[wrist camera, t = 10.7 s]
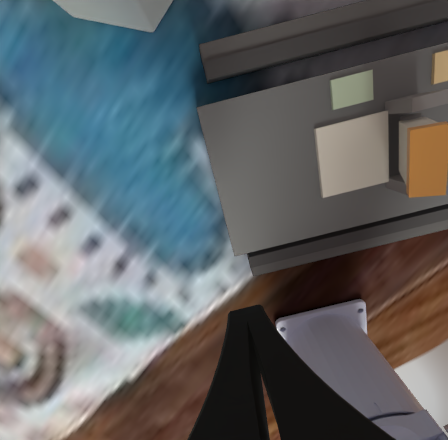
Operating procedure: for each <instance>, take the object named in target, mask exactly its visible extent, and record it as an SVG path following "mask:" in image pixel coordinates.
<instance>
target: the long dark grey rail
mask: <svg viewBox="0 0 448 440" xmlns="http://www.w3.org/2000/svg"><path fill="white" fill-rule="evenodd" d="M446 21H448V0H365V1H362V2H358V3H354V4H350V5H346V6H343V7H339V8H335V9H331V10H328V11H324V12H320V13H316V14H312V15H309V16H305V17H301V18H297V19H293V20H290V21H286V22H282V23H278V24H275V25H271V26H267V27H263V28H259V29H256V30H252V31H248V32H244V33H241V34H237V35H233V36H229V37H225V38H222V39H218V40H214V41H210V42H207V43H203V44H199V48H200V55H201V59H202V63H203V67H204V72H205V76H206V80H207V84H208V83H212V82H216V81H220V80H223V79H227V78H231V77H235V76H239V75H243V74H246V73H250V72H254V71H258V70H262V69H266V68H269V67H273V66H277V65H281V64H285V63H289V62H292V61H296V60H300V59H304V58H308V57H312V56H315V55H319V54H323V53H327V52H331V51H334V50H338V49H342V48H346V47H350V46H354V45H357V44H361V43H365V42H369V41H373V40H377V39H380V38H384V37H388V36H392V35H396V34H400V33H403V32H407V31H411V30H415V29H419V28H423V27H426V26H430V25H434V24H438V23H442V22H446Z"/></svg>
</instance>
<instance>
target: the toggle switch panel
mask: <svg viewBox="0 0 448 440" xmlns="http://www.w3.org/2000/svg"><path fill="white" fill-rule="evenodd" d="M197 111H198V115H199V119H200V123H201V127H202V131H203V135H204V139H205V143H206V146H207V150H208V154H209V158H210V162H211V166H212V170H213V174H214V178H215V182H216V186H217V189H218V193H219V197H220V201H221V205H222V209H223V213H224V217H225V221H226V225H227V229H228V232H229V236H230V240H231V244H232V248H233V252H234V256H238V255H242V254H246V253H250V252H254V251H258V250H262V249H267V248H271V247H275V246H279V245H283V244H287V243H291V242H295V241H299V240H303V239H307V238H311V237H315V236H319V235H323V234H327V233H331V232H335V231H340V230H344V229H348V228H352V227H356V226H360V225H364V224H368V223H372V222H376V221H380V220H384V219H388V218H392V217H396V216H400V215H404V214H408V213H413V212H417V211H421V210H425V209H429V208H433V207H437V206H441V205H445V204H448V171H447V185H446V195H440V196H426V197H411V198H409V197H408V195H407V193H406V184H405V182H404V180H403V178H402V176H401V174H400V172H399V121H400V117H401V116H403V115H408V114H413V113H422V117H423V116H425V117H427V118H429V119H432V120H434V121H436V122H445V121H446V122H448V42H447V43H443V44H439V45H435V46H431V47H428V48H424V49H420V50H416V51H412V52H408V53H404V54H401V55H397V56H393V57H389V58H385V59H381V60H377V61H374V62H370V63H366V64H362V65H358V66H354V67H350V68H347V69H343V70H339V71H335V72H331V73H327V74H323V75H320V76H316V77H312V78H308V79H304V80H300V81H297V82H293V83H289V84H285V85H281V86H277V87H273V88H270V89H266V90H262V91H258V92H254V93H250V94H246V95H243V96H239V97H235V98H231V99H227V100H223V101H219V102H216V103H212V104H208V105H204V106H200V107H197Z"/></svg>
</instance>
